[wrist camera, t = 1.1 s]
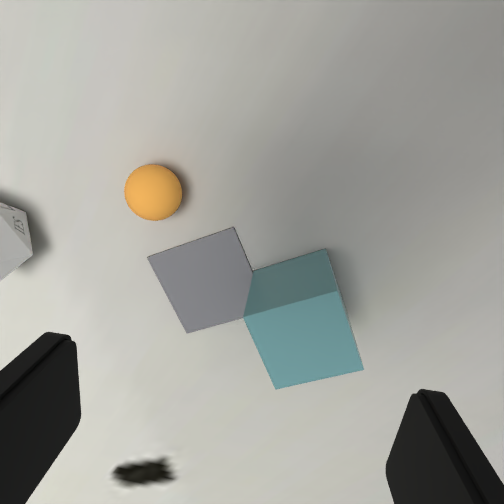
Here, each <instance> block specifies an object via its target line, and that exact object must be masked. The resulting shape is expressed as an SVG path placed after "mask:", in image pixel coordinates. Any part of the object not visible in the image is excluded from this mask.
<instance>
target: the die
mask: <svg viewBox="0 0 504 504" xmlns="http://www.w3.org/2000/svg"><path fill="white" fill-rule="evenodd" d="M32 255H33V251H32V245H31V239H30V233H29V227H28V221H27V215H26V212H25V211H22V210H19V209H17V208H14V207H11V206H9V205H5V204H3V203H1V202H0V281H1V280H2V279H4V278H5V277H6V276H7V275H9V274H10V273H11V272H12V271H14V270H15V269H16V268H17V267H18V266H20V265H21V264H22V263H23V262H25V261H26V260H27V259H28V258H30V257H31V256H32Z"/></svg>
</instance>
